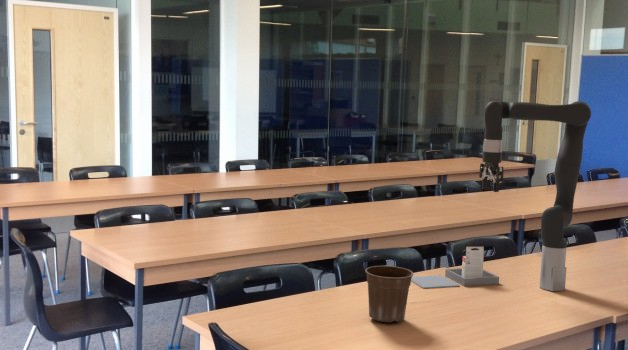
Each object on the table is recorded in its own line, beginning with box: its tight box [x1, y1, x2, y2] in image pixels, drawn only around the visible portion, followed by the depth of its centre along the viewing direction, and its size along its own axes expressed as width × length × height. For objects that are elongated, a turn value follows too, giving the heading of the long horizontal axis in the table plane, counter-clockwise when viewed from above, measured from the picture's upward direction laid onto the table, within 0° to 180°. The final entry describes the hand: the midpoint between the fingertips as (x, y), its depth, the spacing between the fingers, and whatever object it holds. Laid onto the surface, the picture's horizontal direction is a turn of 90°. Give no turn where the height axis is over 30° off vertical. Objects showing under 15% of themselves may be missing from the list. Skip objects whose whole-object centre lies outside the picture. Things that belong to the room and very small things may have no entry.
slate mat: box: [411, 274, 460, 290], centre depth 289 cm, size 16×16×1 cm
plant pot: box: [365, 265, 414, 323], centre depth 241 cm, size 16×16×16 cm
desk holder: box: [444, 267, 500, 287], centre depth 294 cm, size 16×16×3 cm
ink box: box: [461, 246, 485, 278], centre depth 293 cm, size 4×8×15 cm, turn 97°
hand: (490, 190), depth 287 cm, fingers open, 8 cm apart
